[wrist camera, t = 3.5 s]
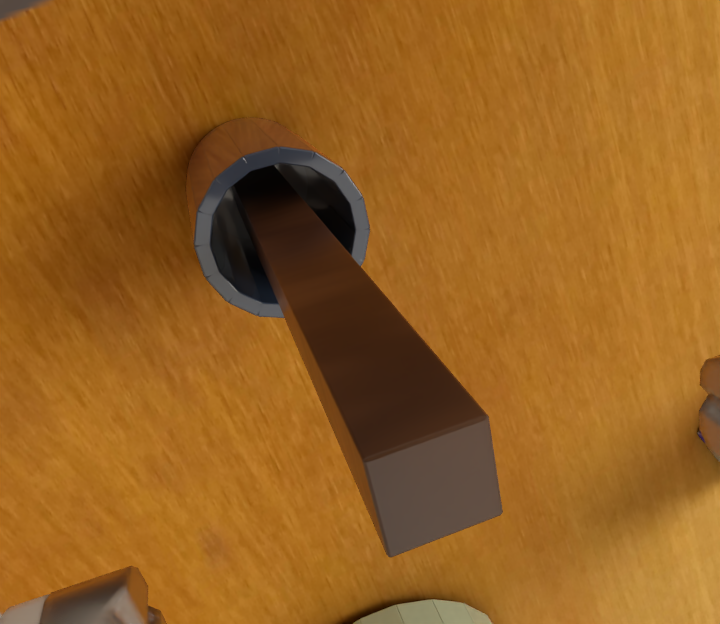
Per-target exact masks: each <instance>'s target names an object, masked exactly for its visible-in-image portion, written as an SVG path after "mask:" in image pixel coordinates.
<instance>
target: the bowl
mask: <svg viewBox="0 0 720 624" xmlns="http://www.w3.org/2000/svg"><path fill="white" fill-rule="evenodd" d="M353 624H493V622H492V621H491V620H490V618H489V617H488V616H487V615H486V614H484V613H482V612H480V611H478V610H476V609H474V608H472V607H471V606H469V605H467V604H465V603H462V602H454V601H445V600H437V599H432V600H431V599H429V600H422V601H416V602H409V603H403V604H397V605H393V606H390V607H388V608H385V609H383V610H380V611H378V612H375V613H373V614H370V615H368V616H365V617H363V618H360V620H357V621H356V622H354V623H353Z"/></svg>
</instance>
